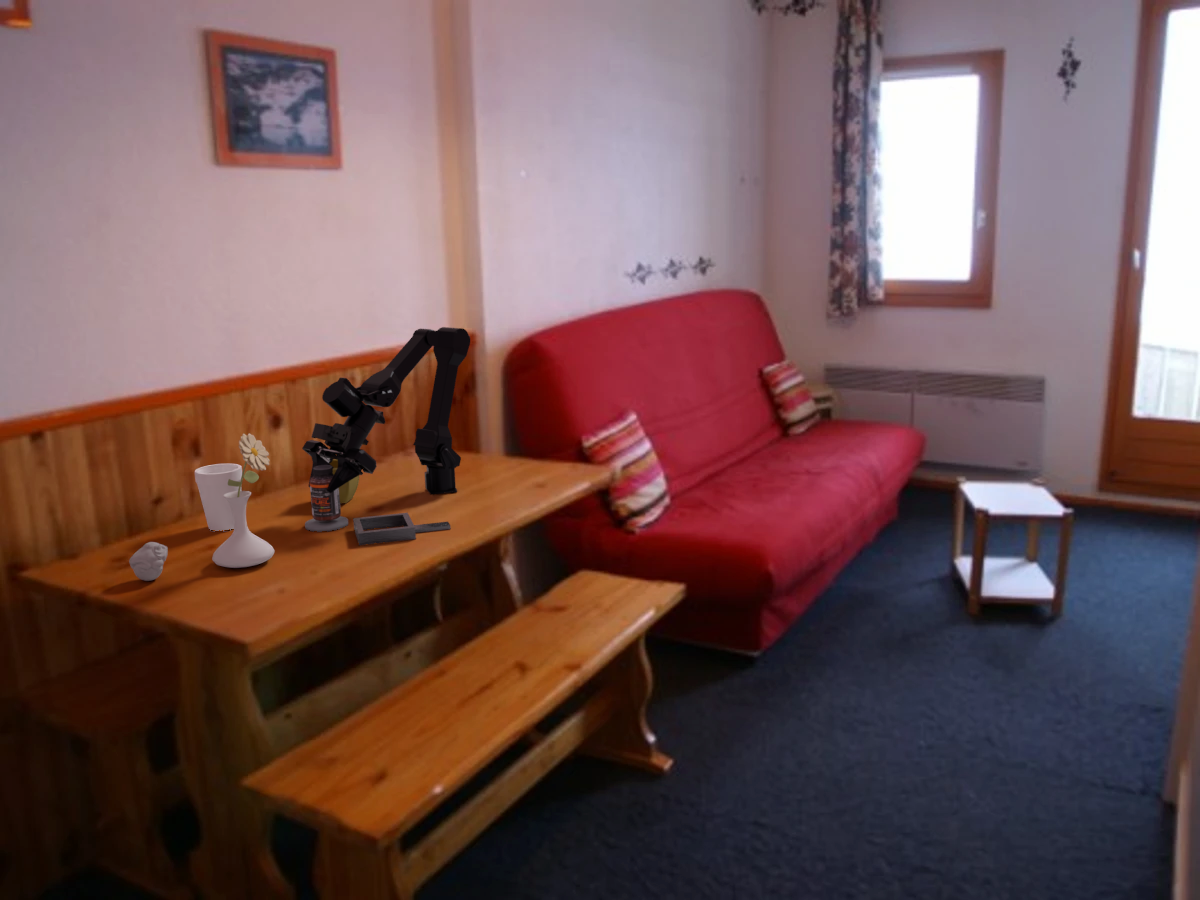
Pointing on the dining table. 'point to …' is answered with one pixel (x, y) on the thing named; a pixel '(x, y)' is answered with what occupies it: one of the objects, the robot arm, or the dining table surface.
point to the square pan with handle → (391, 533)
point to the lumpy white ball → (149, 561)
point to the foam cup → (217, 493)
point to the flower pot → (346, 486)
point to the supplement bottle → (324, 495)
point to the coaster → (326, 524)
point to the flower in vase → (244, 514)
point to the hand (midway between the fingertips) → (319, 489)
